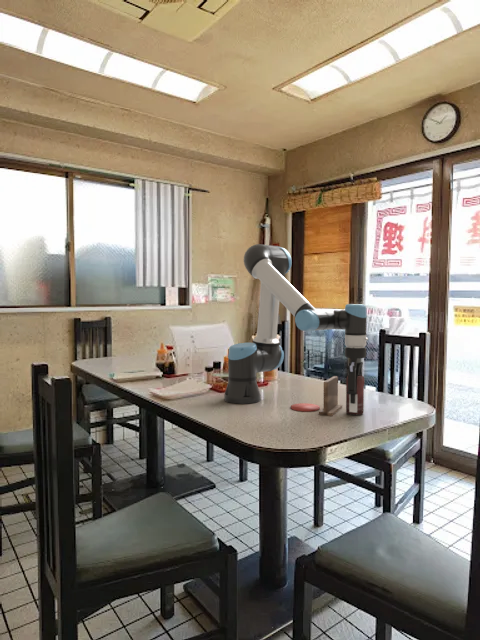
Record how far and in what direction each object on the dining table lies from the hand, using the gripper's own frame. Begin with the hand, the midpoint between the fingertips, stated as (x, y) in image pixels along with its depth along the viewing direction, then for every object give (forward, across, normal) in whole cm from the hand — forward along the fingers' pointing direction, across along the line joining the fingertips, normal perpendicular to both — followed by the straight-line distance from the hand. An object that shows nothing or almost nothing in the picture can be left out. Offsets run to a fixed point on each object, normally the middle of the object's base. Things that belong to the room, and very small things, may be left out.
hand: (355, 410), depth 162 cm
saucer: (+1, 0, +19) cm, 19 cm away
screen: (+1, 0, +9) cm, 9 cm away
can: (+1, 0, 0) cm, 1 cm away
